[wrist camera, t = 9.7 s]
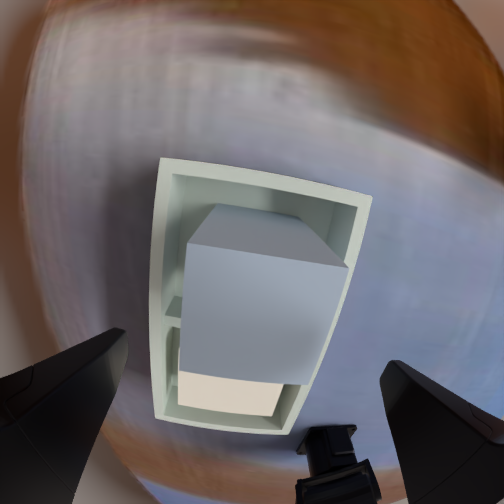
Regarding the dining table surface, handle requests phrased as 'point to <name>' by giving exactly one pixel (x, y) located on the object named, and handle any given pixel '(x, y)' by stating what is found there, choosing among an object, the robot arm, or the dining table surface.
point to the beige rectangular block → (227, 394)
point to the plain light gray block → (257, 297)
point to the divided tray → (173, 265)
